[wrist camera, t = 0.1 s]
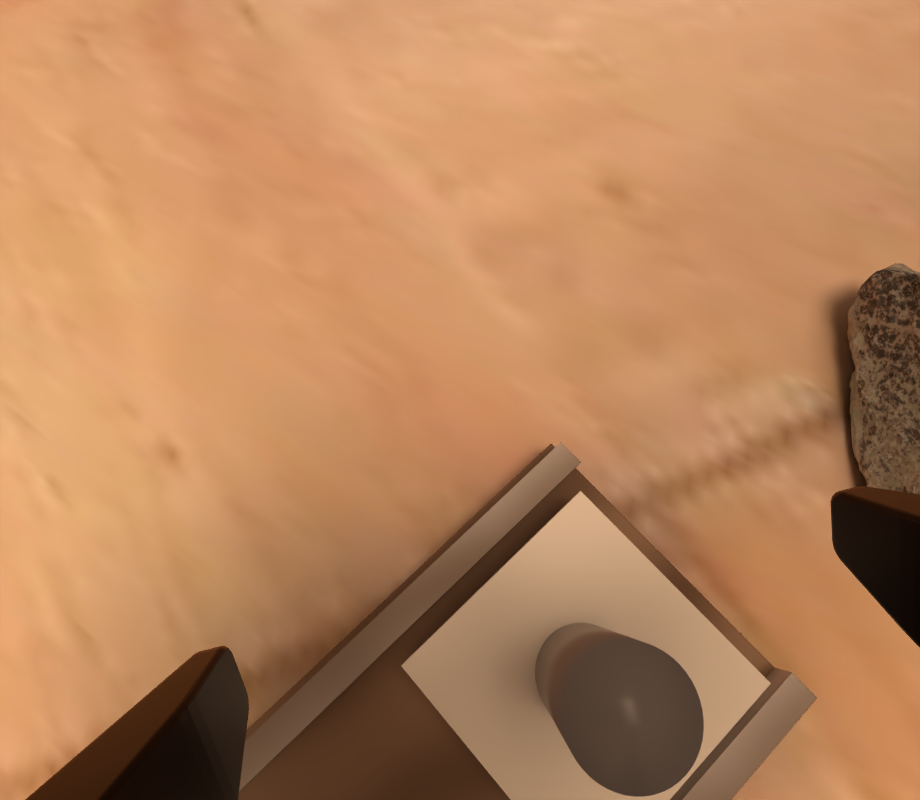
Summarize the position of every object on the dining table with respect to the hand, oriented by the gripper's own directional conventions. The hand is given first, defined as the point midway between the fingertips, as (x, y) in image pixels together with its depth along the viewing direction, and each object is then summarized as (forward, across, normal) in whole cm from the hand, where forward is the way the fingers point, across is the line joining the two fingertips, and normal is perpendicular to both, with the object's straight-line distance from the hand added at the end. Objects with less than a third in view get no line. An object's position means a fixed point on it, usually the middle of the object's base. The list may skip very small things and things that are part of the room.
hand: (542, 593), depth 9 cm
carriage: (+9, -2, +10) cm, 14 cm away
